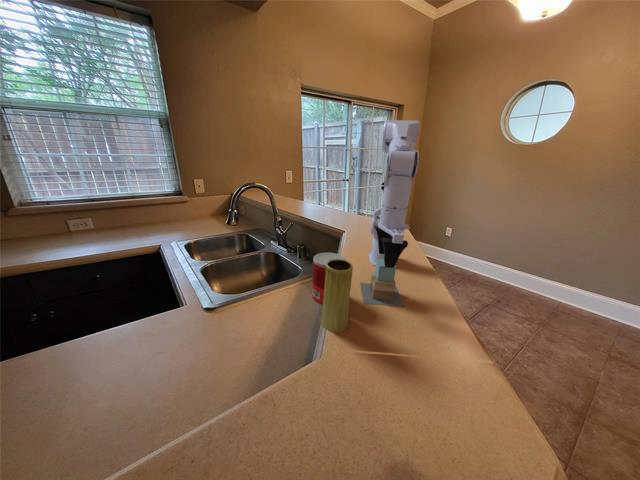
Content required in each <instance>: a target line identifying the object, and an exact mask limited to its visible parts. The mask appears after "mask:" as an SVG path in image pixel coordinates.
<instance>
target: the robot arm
mask: <svg viewBox="0 0 640 480" xmlns="http://www.w3.org/2000/svg"><path fill="white" fill-rule="evenodd" d="M420 125H421V122H420V121H419V120H418V119H416V120H408V119H407V120H400V119H387V118H386V119H385V121H384V124H383V131H382V138H381V139H382V140H381V141H382V145H381V148H382V152H384V153H385V154H386V157H385V164H384V165H385V166H384V172H383V173H384V183H383V184H384V188H383V192H382V201H381V206H380V207H379V208H376V210H374V212H373V213H372V218H371V226H370V234H371V236H373V237H372V241H371V249H370V252H368V253H367V255H368V259H369V262H370V265H371V266H376V262H377V259H384V264H385V267H387V268H394V267H395V266H396V267H397V262H398V260H399V258H400V256H401V254H402V253H403V251H404V250H405V249H406V248H408V246H409V241H407V240H404V237H405V234H404V233H405V230H410V225H409V224H406V219H407V218H406V217H407V212H408V207H409V203H410V196H411V190H412V184H413V180H414V179H415V178H416V175H417V172H418V167H419V161H420V160H419V159H420V158H419V150H415V147H416V144H417V141H418V138H419V134H420V127H421V126H420Z"/></svg>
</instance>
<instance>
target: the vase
mask: <svg viewBox="0 0 640 480" xmlns="http://www.w3.org/2000/svg"><path fill="white" fill-rule="evenodd" d="M353 268H354V267H353V264H352V262H351V261H349V260H347V259H346V260H342V259H333V260H330V261H328V262H327V263H326V275H325V287H324V298H323V305H322V309H321V318H320V325H321V327H322V328H323V329H324V330H326V331H328V332H332V333H341V332H344V331H345V330H347V328H348V327H349V325H350V323H349V321H350V320H349V312H350V310H349V309H350V299H351V298H350V297H351V288H352V287H351V286H352V279H353V270H354V269H353Z"/></svg>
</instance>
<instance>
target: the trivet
mask: <svg viewBox="0 0 640 480" xmlns="http://www.w3.org/2000/svg"><path fill="white" fill-rule="evenodd" d="M370 284H371V282H369V283H366V282H359V286H360V291H361V296H362V301H363V304H364V305H374V306H375V305H376V306H390V307H403V308H404V307H406V305H405V303H404V301H403V299H402V296H401V294H400V291H399V290H398V287H397V285H396V284H395V289H394V295H393V300H386V299H373V298H372V294H371V290H370Z"/></svg>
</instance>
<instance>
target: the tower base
mask: <svg viewBox="0 0 640 480" xmlns="http://www.w3.org/2000/svg"><path fill="white" fill-rule="evenodd" d="M370 283H371V284H370V290H371V294H372V298H373V299H386V300H393V295H394V291H380V290H374V289H373V285H372V282H371V281H370Z"/></svg>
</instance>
